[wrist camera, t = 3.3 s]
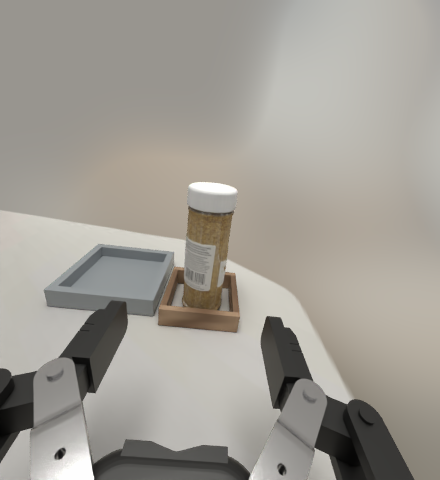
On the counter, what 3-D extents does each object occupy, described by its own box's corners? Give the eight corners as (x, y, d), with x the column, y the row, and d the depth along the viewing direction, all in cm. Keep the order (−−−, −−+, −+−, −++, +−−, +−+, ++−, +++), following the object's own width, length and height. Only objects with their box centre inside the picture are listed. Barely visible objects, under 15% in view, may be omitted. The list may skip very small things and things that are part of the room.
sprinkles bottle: (228, 306, 26) (248, 190, 20) (196, 323, 23) (210, 192, 17) (204, 286, 29) (216, 180, 23) (173, 299, 26) (178, 180, 20)
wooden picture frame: (158, 324, 22) (158, 309, 21) (173, 279, 29) (174, 266, 28) (236, 332, 22) (239, 316, 22) (233, 286, 29) (235, 273, 29)
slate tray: (47, 306, 22) (43, 289, 22) (100, 256, 32) (98, 243, 31) (153, 316, 23) (153, 300, 22) (173, 264, 33) (174, 252, 32)
